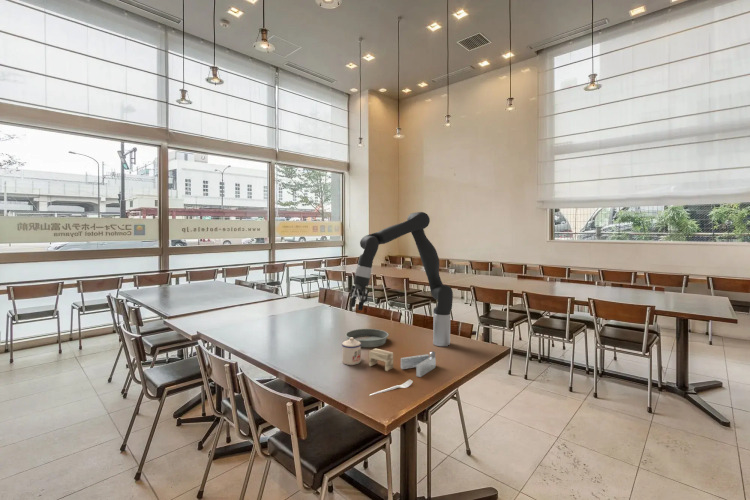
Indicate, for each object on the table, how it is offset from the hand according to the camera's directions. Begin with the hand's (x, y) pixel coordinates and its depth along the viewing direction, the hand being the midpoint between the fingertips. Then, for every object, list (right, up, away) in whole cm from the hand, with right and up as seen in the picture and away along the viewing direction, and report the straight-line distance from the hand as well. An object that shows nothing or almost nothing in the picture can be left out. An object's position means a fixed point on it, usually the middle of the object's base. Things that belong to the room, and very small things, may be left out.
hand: (356, 308), depth 175 cm
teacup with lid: (-1, -25, -4) cm, 25 cm away
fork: (+16, -27, -35) cm, 46 cm away
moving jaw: (+29, -25, -11) cm, 40 cm away
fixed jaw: (+32, -25, -16) cm, 44 cm away
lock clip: (+12, -25, -11) cm, 30 cm away
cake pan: (+5, -24, +28) cm, 37 cm away
